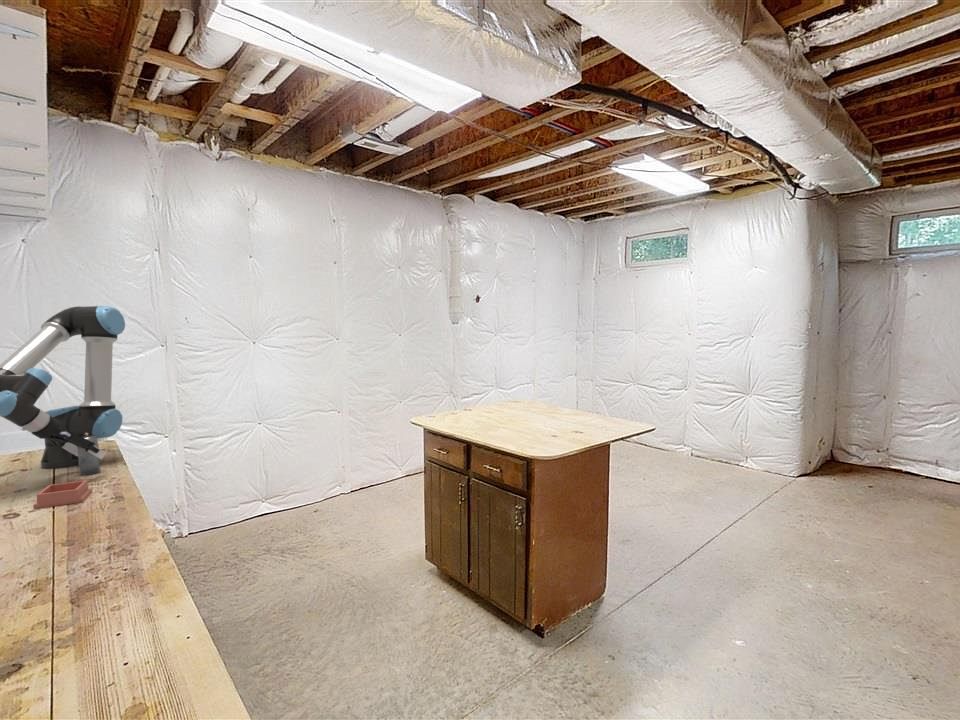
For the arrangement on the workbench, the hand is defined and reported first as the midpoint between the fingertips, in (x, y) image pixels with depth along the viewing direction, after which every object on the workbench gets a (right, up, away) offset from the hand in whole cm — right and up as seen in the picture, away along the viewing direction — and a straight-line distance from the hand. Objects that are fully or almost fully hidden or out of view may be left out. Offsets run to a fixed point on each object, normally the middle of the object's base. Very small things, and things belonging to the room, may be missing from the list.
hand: (91, 454), depth 179 cm
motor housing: (0, -7, 0) cm, 7 cm away
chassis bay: (+14, -9, -28) cm, 32 cm away
